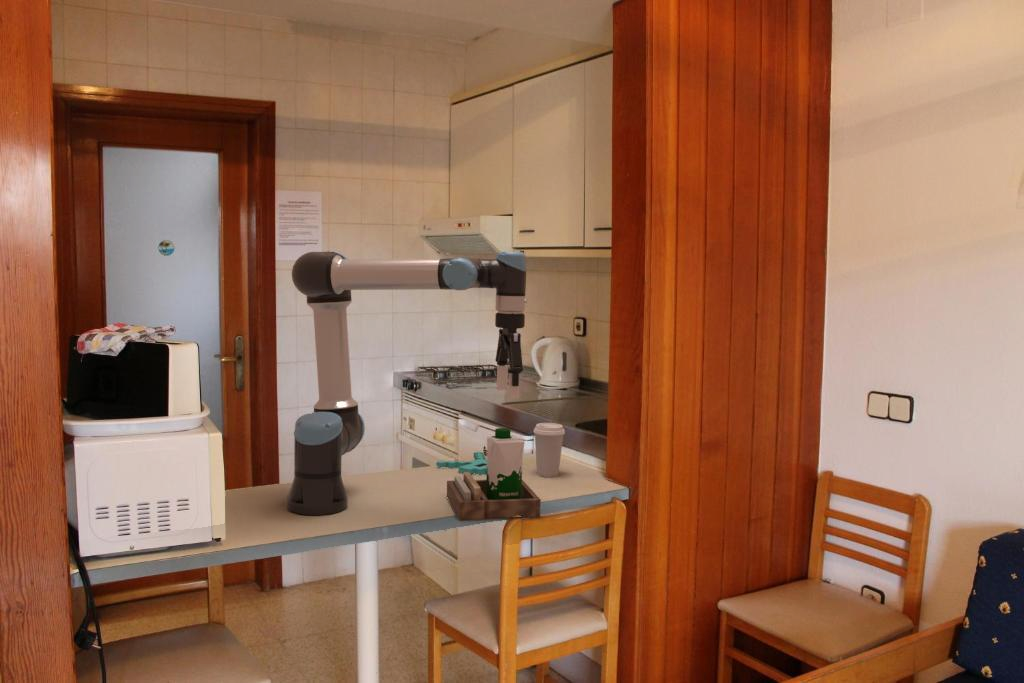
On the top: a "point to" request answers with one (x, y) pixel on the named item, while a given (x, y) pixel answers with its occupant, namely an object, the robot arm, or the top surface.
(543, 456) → the coffee cup
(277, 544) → the top surface
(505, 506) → the offcut rack
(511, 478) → the soya milk
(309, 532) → the top surface
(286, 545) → the top surface
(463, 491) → the grey offcut
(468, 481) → the birch offcut
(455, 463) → the alien figure
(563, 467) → the top surface
